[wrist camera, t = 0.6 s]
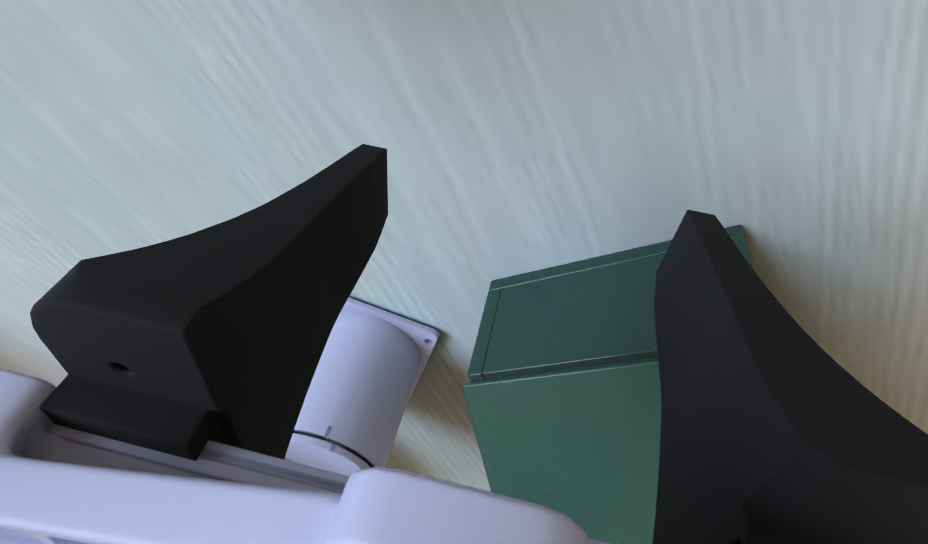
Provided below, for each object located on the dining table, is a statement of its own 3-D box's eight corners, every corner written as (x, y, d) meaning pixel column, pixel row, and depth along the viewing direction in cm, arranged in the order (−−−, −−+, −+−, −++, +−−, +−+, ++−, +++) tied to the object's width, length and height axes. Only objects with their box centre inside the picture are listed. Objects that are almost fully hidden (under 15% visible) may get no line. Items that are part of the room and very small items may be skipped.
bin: (776, 366, 29) (802, 477, 25) (561, 389, 35) (551, 482, 31) (741, 223, 24) (767, 335, 19) (490, 280, 30) (466, 375, 25)
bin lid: (838, 629, 20) (841, 644, 19) (528, 601, 26) (523, 611, 25) (768, 341, 19) (769, 347, 19) (468, 380, 25) (461, 385, 25)
